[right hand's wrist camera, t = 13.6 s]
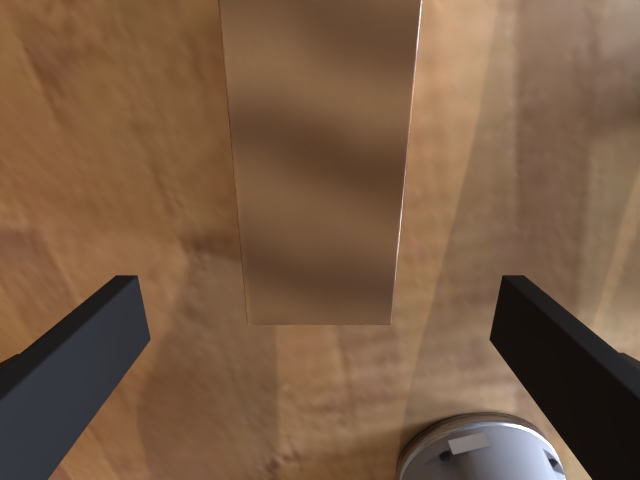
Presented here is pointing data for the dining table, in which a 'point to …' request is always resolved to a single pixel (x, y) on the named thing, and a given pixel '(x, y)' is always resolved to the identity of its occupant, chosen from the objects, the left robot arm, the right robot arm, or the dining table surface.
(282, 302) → the long beam
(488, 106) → the dining table surface
